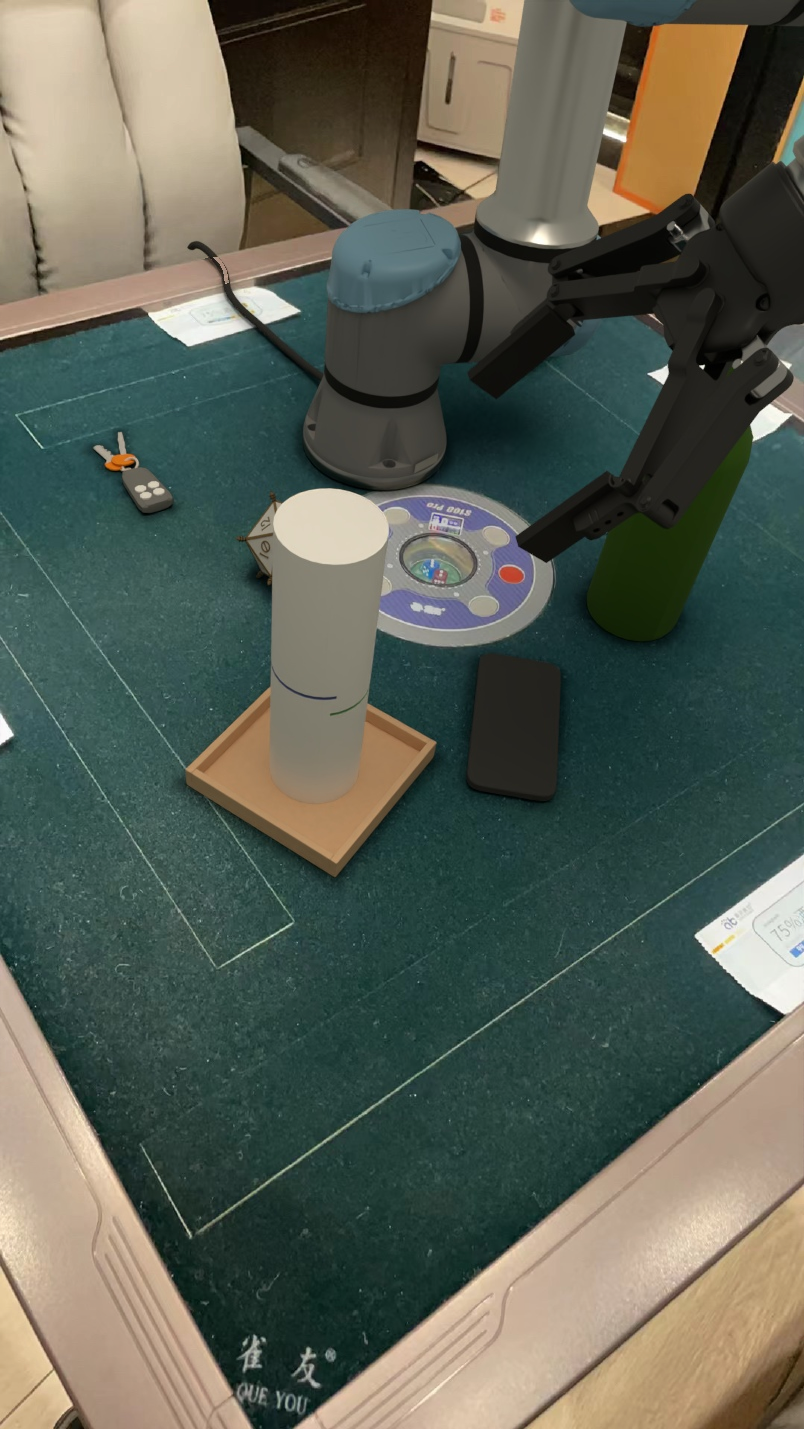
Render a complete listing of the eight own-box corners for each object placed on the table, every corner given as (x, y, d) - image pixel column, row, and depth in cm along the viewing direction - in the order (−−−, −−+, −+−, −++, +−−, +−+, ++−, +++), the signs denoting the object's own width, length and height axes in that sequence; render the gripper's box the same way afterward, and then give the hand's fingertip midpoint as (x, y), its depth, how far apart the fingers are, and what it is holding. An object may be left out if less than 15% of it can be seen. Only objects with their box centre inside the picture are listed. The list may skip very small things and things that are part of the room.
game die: (305, 597, 102) (374, 532, 97) (273, 629, 95) (345, 559, 90) (240, 529, 101) (306, 459, 96) (202, 556, 93) (271, 481, 89)
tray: (186, 784, 82) (185, 769, 81) (294, 677, 90) (295, 661, 89) (335, 877, 78) (336, 863, 77) (433, 757, 86) (436, 742, 85)
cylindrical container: (269, 731, 86) (273, 486, 67) (356, 732, 87) (384, 490, 67) (269, 804, 81) (273, 563, 62) (361, 803, 82) (393, 566, 63)
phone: (562, 664, 94) (557, 798, 84) (560, 670, 94) (554, 804, 84) (480, 650, 94) (465, 783, 84) (478, 657, 94) (463, 789, 84)
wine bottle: (694, 611, 101) (839, 294, 76) (644, 657, 97) (781, 335, 72) (618, 563, 105) (734, 245, 80) (566, 606, 100) (672, 281, 75)
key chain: (178, 506, 103) (177, 494, 102) (142, 517, 101) (141, 505, 100) (121, 434, 109) (120, 422, 108) (87, 443, 108) (85, 431, 106)
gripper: (957, 427, 49) (592, 649, 61) (773, 120, 61) (499, 354, 73) (898, 349, 44) (512, 607, 56) (710, 31, 56) (426, 297, 68)
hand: (504, 464), depth 64 cm, fingers open, 13 cm apart
